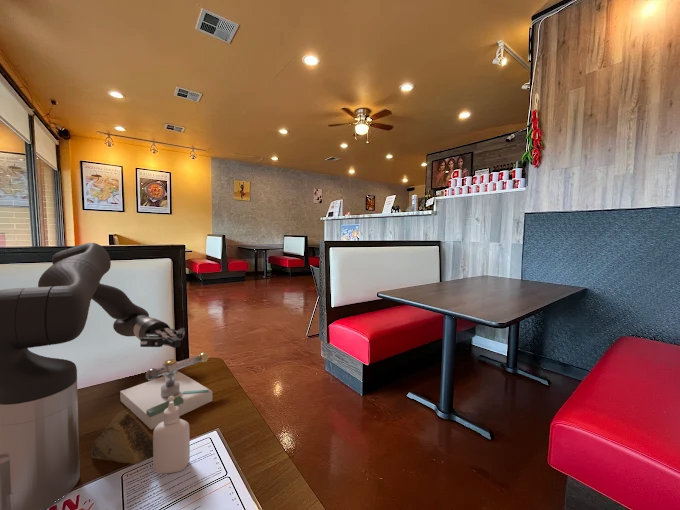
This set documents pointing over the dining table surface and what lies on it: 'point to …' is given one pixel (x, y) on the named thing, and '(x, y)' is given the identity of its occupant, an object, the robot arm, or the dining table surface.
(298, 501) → the dining table surface
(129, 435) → the rock
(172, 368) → the crank handle
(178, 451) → the eye dropper bottle
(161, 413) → the stand
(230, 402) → the dining table surface
